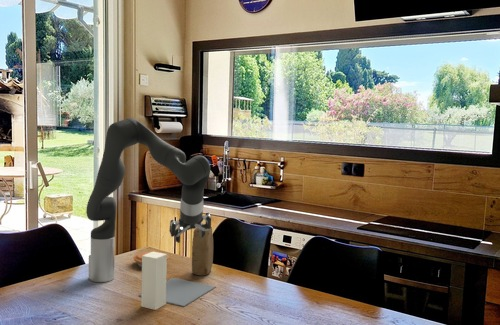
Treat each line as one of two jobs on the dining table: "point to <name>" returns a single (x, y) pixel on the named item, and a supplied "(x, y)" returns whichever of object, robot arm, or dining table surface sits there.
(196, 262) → the tan textured post
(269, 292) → the dining table surface
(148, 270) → the tall cream block
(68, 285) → the dining table surface
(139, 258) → the pie
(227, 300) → the dining table surface
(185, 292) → the mat
